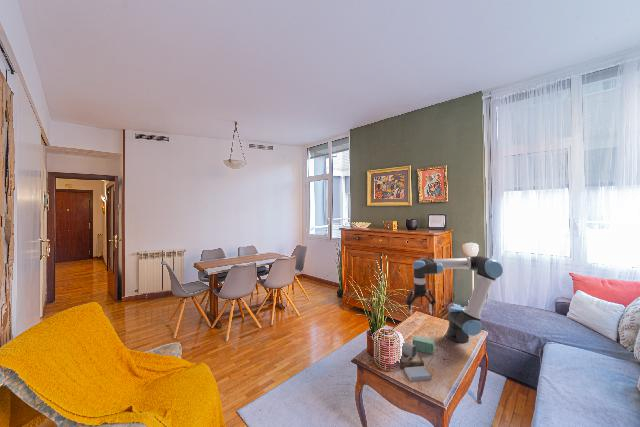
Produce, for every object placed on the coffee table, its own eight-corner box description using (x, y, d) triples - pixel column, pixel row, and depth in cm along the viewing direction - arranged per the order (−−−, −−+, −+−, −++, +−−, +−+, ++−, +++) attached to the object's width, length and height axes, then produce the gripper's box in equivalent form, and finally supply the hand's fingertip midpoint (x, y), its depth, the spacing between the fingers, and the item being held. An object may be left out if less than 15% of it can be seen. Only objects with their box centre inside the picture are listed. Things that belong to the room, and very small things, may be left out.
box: (433, 354, 179) (433, 343, 179) (412, 350, 185) (412, 339, 185) (434, 349, 185) (434, 339, 185) (414, 345, 192) (413, 334, 192)
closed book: (423, 369, 163) (423, 365, 163) (430, 379, 154) (430, 375, 154) (404, 371, 162) (404, 367, 162) (410, 381, 153) (410, 377, 153)
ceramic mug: (405, 350, 177) (405, 339, 176) (417, 355, 171) (417, 343, 170) (397, 357, 169) (396, 346, 169) (409, 363, 164) (409, 350, 163)
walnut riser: (416, 356, 178) (416, 349, 178) (424, 369, 164) (424, 362, 164) (395, 356, 178) (395, 349, 178) (401, 369, 165) (400, 362, 164)
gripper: (435, 280, 188) (436, 310, 189) (400, 282, 188) (401, 312, 189) (440, 283, 180) (441, 314, 181) (403, 285, 180) (404, 316, 181)
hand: (421, 313), depth 185 cm, fingers open, 13 cm apart
